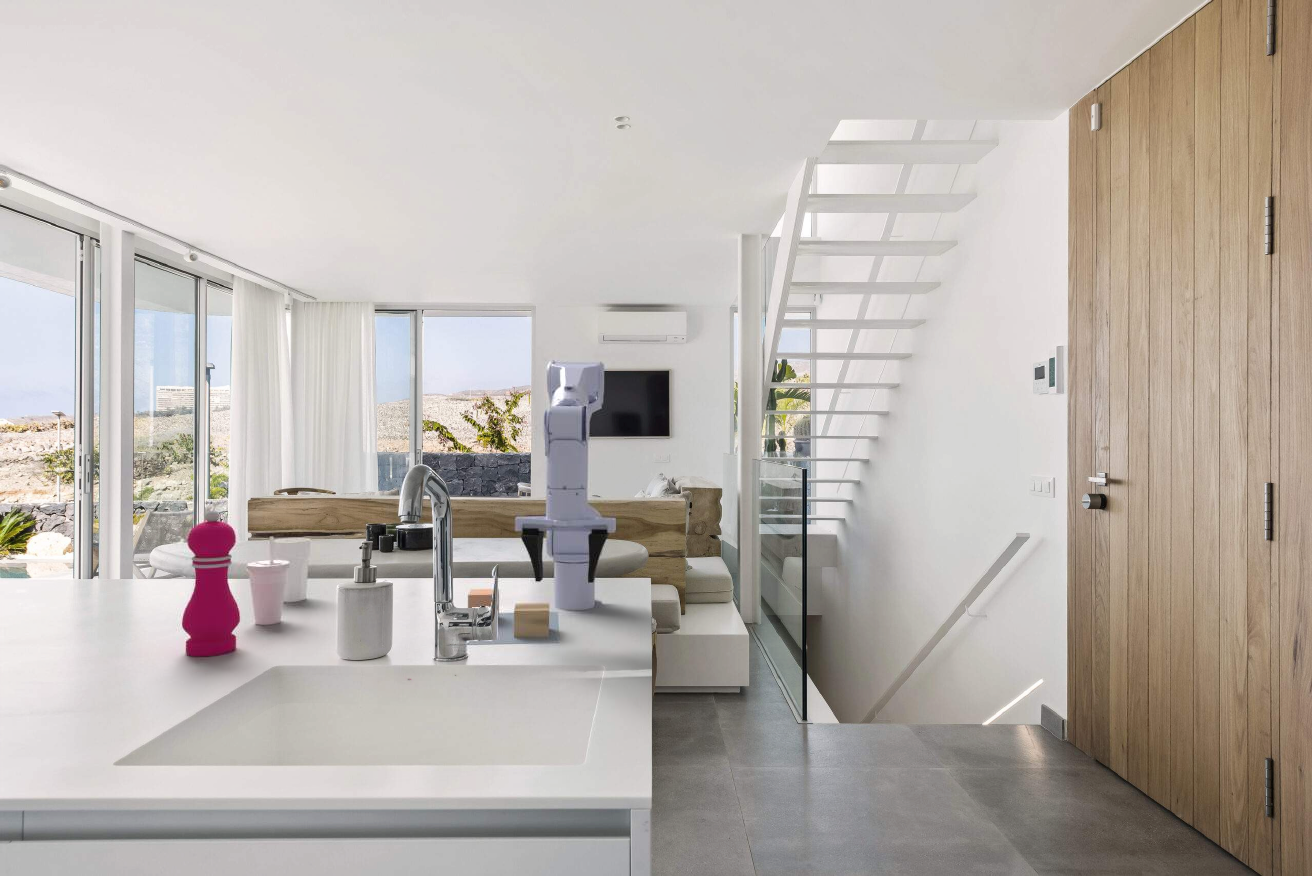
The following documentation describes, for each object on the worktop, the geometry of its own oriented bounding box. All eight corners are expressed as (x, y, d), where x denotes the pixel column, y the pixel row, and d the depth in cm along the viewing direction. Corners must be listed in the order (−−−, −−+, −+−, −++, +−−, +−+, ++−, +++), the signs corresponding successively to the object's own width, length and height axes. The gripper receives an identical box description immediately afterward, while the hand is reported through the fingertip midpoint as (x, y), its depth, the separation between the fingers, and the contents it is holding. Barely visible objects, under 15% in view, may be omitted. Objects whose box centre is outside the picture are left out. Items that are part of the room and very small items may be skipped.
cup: (273, 596, 151) (274, 538, 151) (311, 595, 153) (312, 537, 153) (268, 604, 145) (268, 543, 144) (307, 602, 146) (308, 542, 146)
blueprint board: (461, 618, 135) (461, 613, 135) (557, 616, 137) (557, 611, 137) (446, 650, 115) (446, 645, 115) (558, 647, 117) (558, 642, 117)
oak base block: (515, 629, 125) (515, 603, 125) (549, 628, 126) (549, 602, 126) (513, 637, 120) (514, 610, 120) (549, 636, 120) (549, 610, 120)
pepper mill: (174, 659, 110) (175, 513, 109) (190, 645, 116) (191, 508, 116) (233, 656, 111) (234, 512, 111) (244, 642, 118) (245, 507, 118)
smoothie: (272, 627, 127) (272, 539, 127) (236, 625, 129) (237, 538, 128) (297, 618, 134) (298, 534, 133) (264, 616, 135) (264, 533, 135)
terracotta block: (470, 617, 133) (470, 589, 133) (498, 616, 133) (499, 589, 133) (467, 623, 128) (467, 595, 128) (497, 623, 129) (497, 594, 129)
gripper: (510, 489, 113) (509, 585, 113) (612, 490, 113) (611, 587, 113) (521, 485, 120) (520, 576, 120) (617, 487, 120) (616, 577, 120)
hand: (565, 580), depth 117 cm, fingers open, 7 cm apart
